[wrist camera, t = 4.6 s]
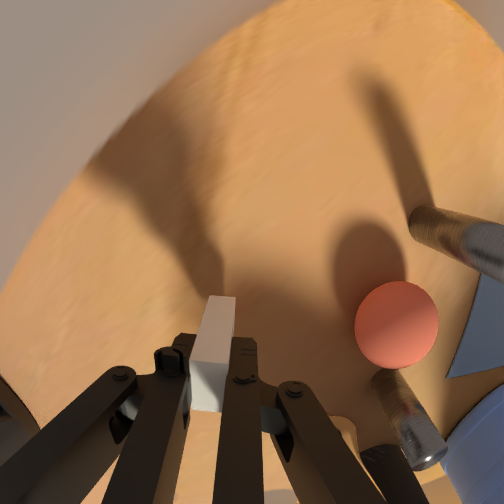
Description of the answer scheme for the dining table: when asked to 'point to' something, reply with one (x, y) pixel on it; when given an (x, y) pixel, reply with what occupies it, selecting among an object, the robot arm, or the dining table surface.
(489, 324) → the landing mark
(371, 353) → the ball
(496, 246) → the post
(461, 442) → the water jug
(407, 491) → the travel mug
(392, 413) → the post
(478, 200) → the dining table surface
